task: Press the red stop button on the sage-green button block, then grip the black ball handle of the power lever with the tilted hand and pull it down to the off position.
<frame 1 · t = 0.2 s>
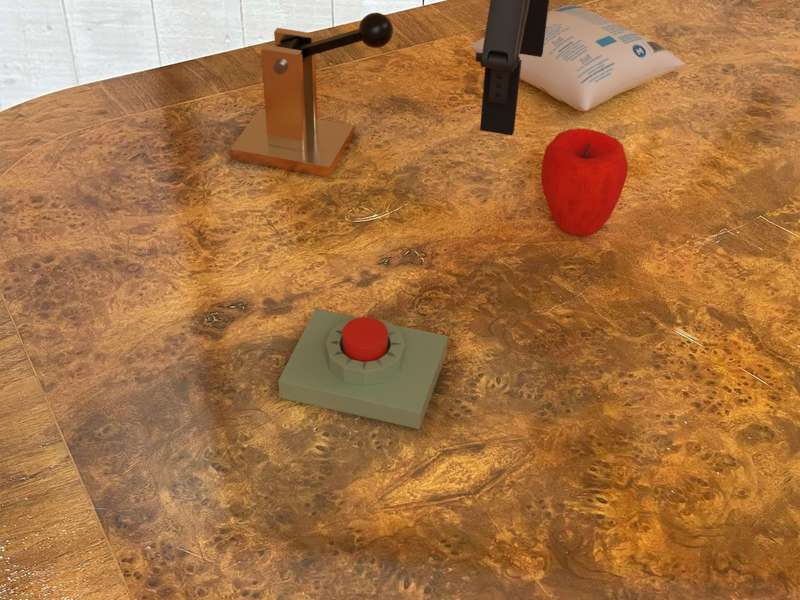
hand: (512, 90, 93), 22 cm above the table, tool pointing down, fingers open, 13 cm apart
power switch: (293, 147, 125), on the table
apple: (574, 226, 115), on the table
pouch: (572, 83, 138), on the table
power lever: (332, 42, 115), point 14 cm above the table, hinge at 25.0°
stop button block: (365, 374, 98), on the table
stop button: (365, 339, 95), point 4 cm above the table, slide at 0.1 cm
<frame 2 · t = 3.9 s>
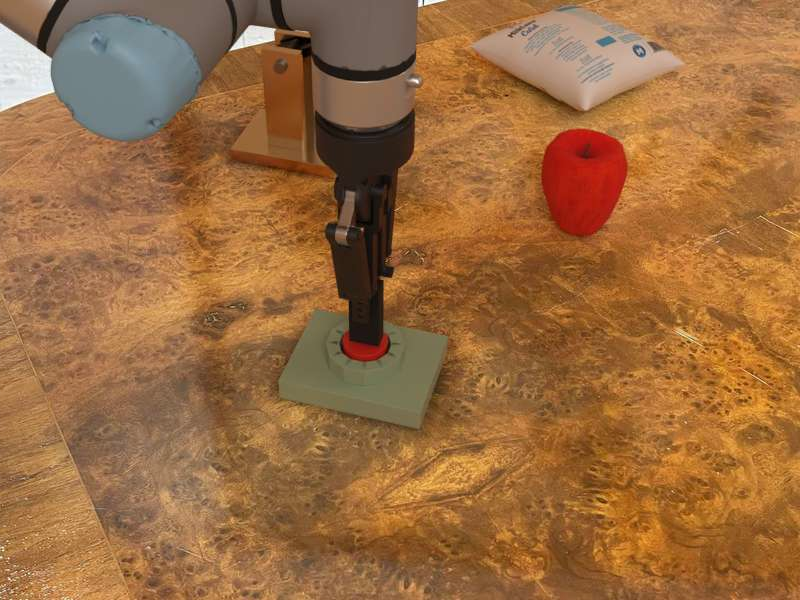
hand: (366, 337, 95), 5 cm above the table, tool pointing down, fingers closed
stop button: (365, 346, 95), point 4 cm above the table, slide at -0.8 cm, touching gripper
everything else where it was.
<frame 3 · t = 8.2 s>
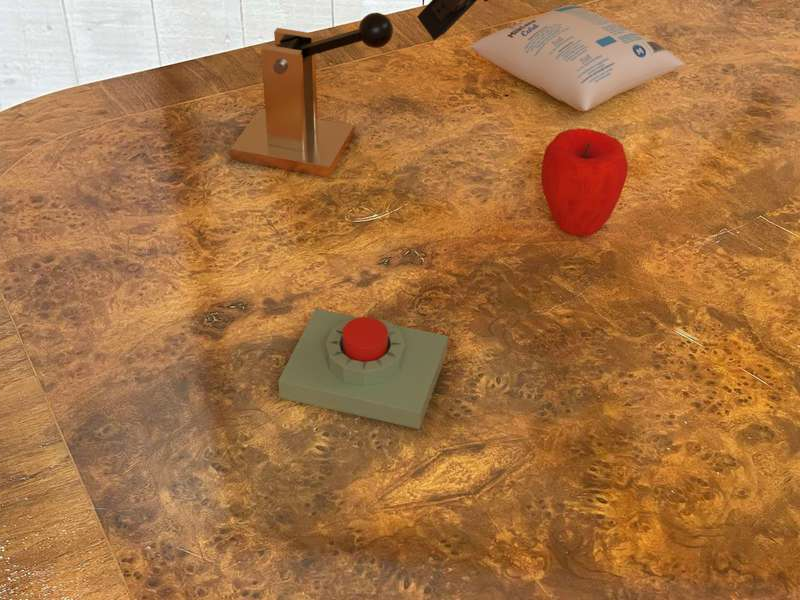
hand: (430, 25, 101), 23 cm above the table, tool tilted 40°, fingers closed
stop button: (365, 339, 95), point 4 cm above the table, slide at 0.1 cm
everything else where it was.
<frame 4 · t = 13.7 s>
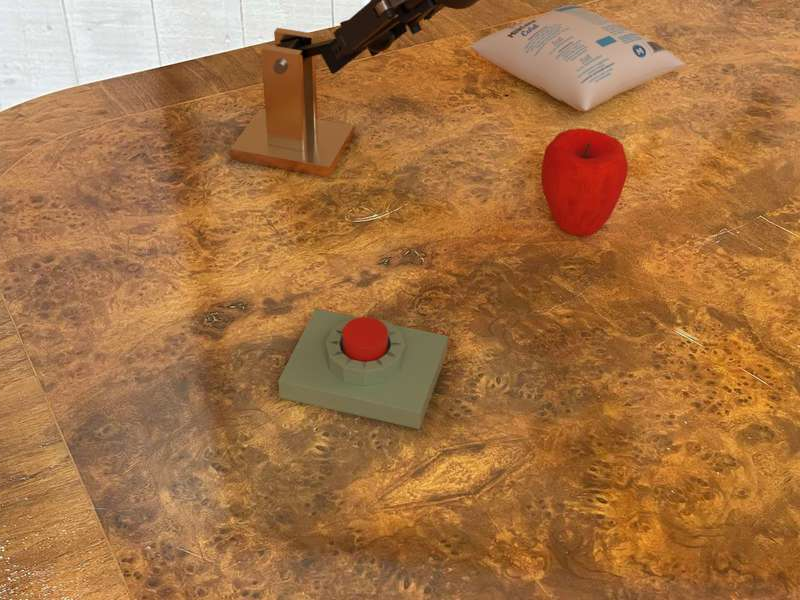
hand: (349, 53, 116), 13 cm above the table, tool tilted 45°, fingers open, 5 cm apart
power lever: (333, 44, 115), point 14 cm above the table, hinge at 22.5°, touching gripper
everything else where it was.
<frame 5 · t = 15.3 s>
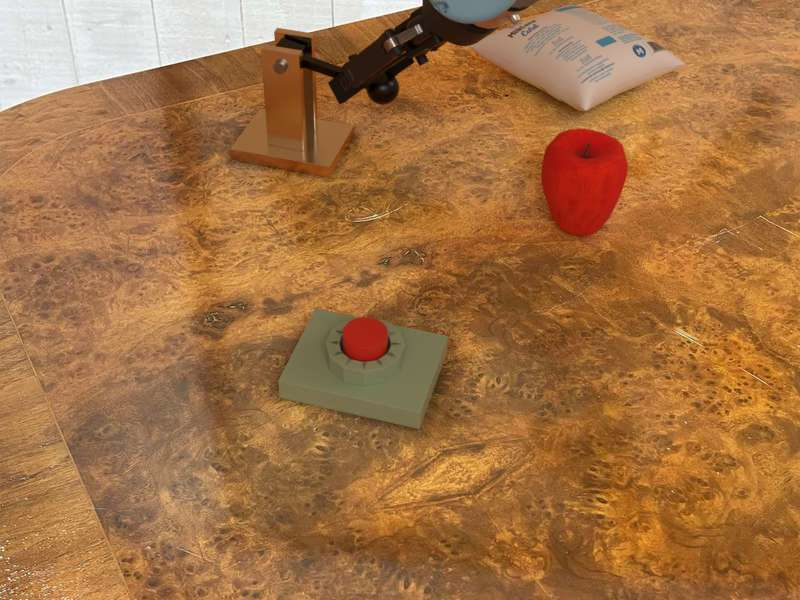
hand: (356, 83, 119), 9 cm above the table, tool tilted 45°, fingers open, 5 cm apart
power lever: (337, 72, 117), point 11 cm above the table, hinge at -11.1°, touching gripper
everything else where it was.
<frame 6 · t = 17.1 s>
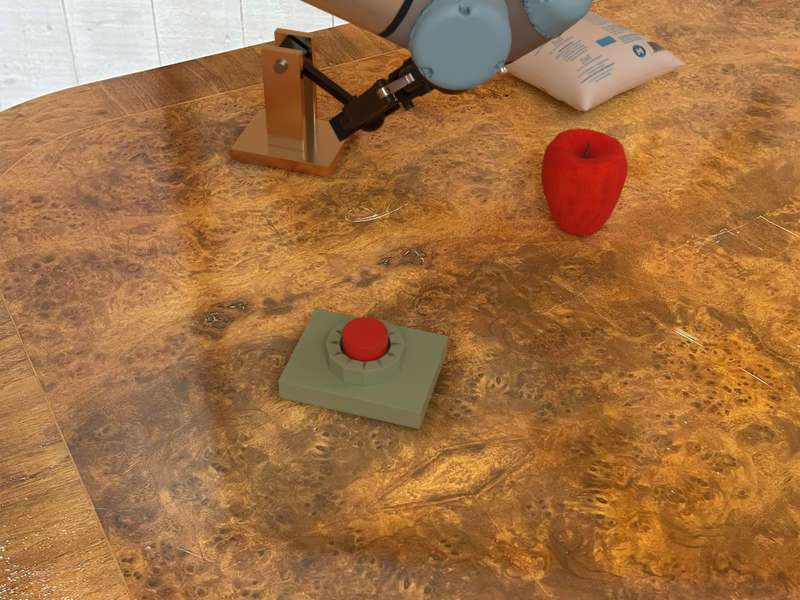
hand: (350, 123, 123), 4 cm above the table, tool tilted 45°, fingers closed on power lever, 4 cm apart
power lever: (330, 87, 118), point 9 cm above the table, hinge at -32.7°, touching gripper
everything else where it was.
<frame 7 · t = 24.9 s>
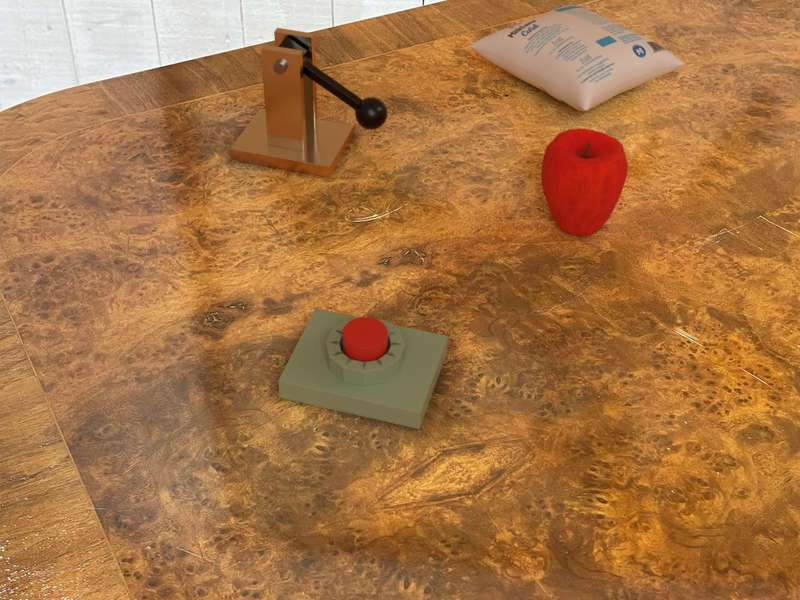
power lever: (331, 85, 118), point 9 cm above the table, hinge at -30.4°
everything else where it was.
at the end: stop button pushed in 1.0 cm at the most during the clip, back to where it started at the end; stop button slide at 0.1 cm; power lever at -30° (first picture: +25°) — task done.
